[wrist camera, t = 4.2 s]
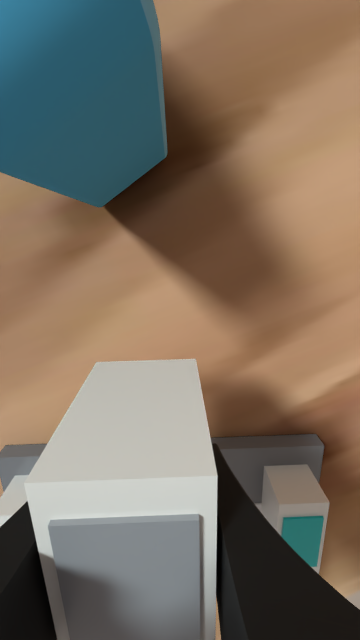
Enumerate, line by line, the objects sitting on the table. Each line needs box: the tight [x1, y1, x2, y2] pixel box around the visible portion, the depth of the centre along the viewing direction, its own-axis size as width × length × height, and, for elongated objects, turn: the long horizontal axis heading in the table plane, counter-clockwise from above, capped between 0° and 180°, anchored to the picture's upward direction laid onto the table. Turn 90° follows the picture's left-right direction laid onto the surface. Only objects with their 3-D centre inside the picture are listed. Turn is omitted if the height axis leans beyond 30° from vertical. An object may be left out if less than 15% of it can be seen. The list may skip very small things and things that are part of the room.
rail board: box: [0, 434, 330, 574], centre depth 21 cm, size 22×13×4 cm, turn 91°
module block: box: [24, 359, 218, 640], centre depth 10 cm, size 4×7×6 cm, turn 1°
